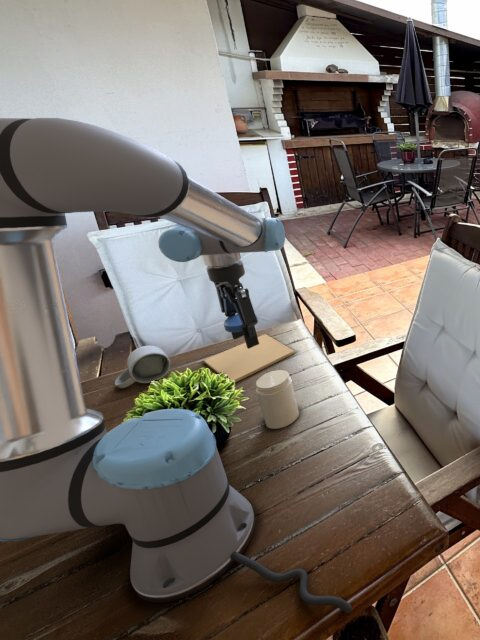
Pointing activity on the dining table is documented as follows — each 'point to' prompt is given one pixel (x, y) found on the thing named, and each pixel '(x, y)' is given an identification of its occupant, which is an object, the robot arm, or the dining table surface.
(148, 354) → the ceramic mug
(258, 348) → the mat
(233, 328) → the lid
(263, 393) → the jar
